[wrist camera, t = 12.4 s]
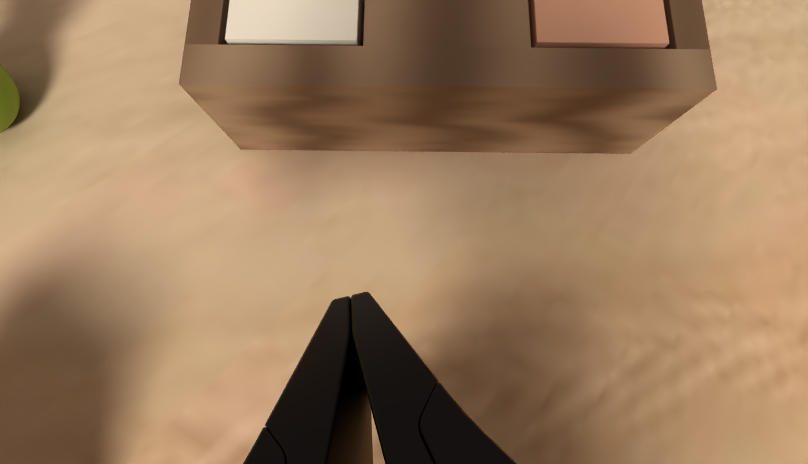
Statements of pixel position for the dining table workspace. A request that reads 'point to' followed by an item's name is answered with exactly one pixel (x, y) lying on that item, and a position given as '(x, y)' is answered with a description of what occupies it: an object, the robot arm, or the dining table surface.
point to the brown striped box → (445, 83)
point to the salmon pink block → (598, 24)
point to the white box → (296, 22)
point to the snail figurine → (8, 100)
